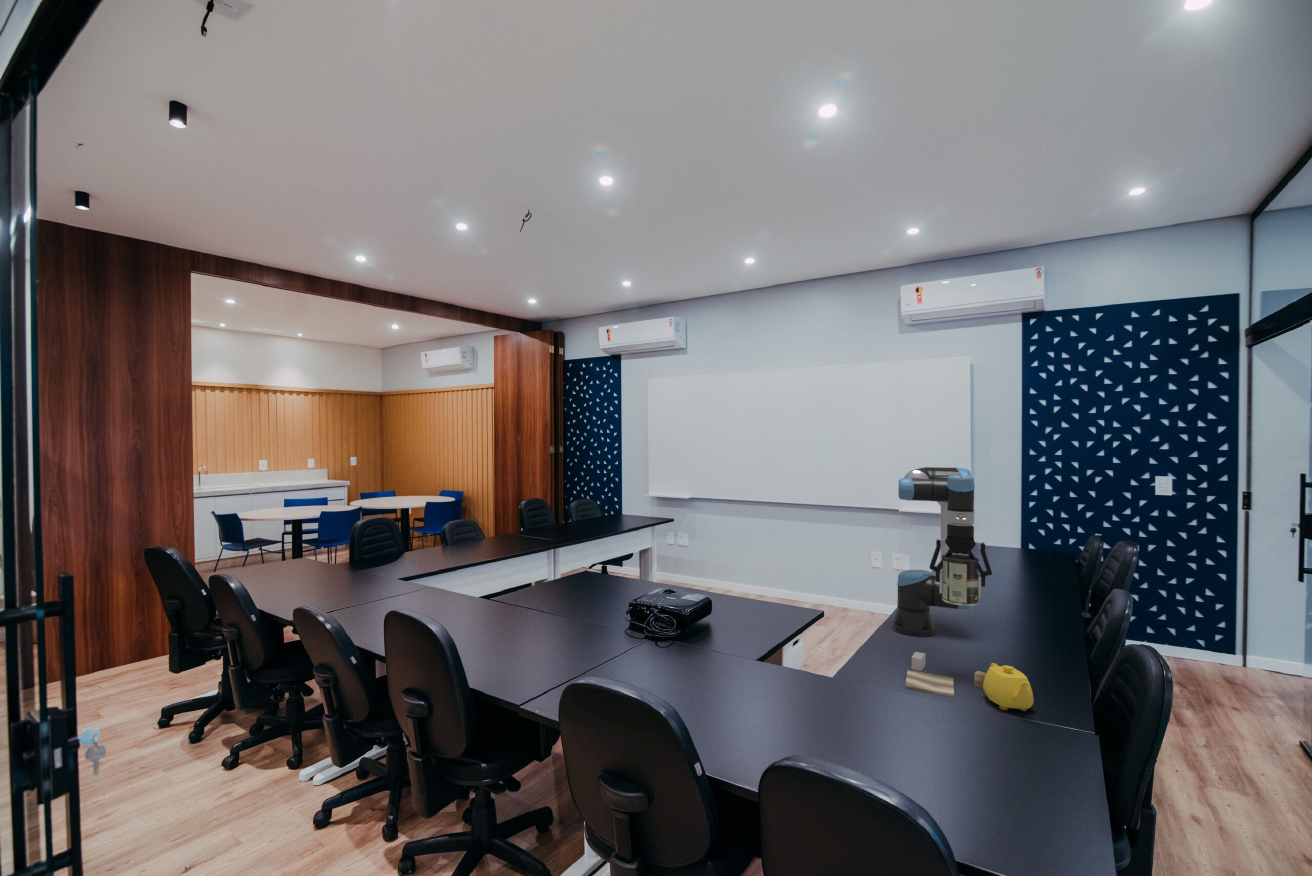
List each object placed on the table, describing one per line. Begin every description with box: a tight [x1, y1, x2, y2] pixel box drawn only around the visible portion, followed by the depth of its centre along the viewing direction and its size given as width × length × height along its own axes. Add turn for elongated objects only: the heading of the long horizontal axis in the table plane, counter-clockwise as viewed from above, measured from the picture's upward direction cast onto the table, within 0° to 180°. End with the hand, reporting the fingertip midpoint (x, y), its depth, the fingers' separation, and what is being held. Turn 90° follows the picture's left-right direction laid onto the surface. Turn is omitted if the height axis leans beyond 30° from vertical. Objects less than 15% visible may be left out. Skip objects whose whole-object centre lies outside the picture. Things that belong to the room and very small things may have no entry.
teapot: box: [982, 662, 1034, 712], centre depth 159 cm, size 18×11×11 cm, turn 177°
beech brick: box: [973, 670, 987, 689], centre depth 171 cm, size 6×3×4 cm, turn 44°
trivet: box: [904, 669, 955, 698], centre depth 173 cm, size 13×13×1 cm
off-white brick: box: [910, 651, 926, 672], centre depth 186 cm, size 6×3×4 cm, turn 143°
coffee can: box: [942, 554, 980, 607], centre depth 179 cm, size 10×10×14 cm
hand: (959, 594), depth 179 cm, fingers closed on coffee can, 10 cm apart
